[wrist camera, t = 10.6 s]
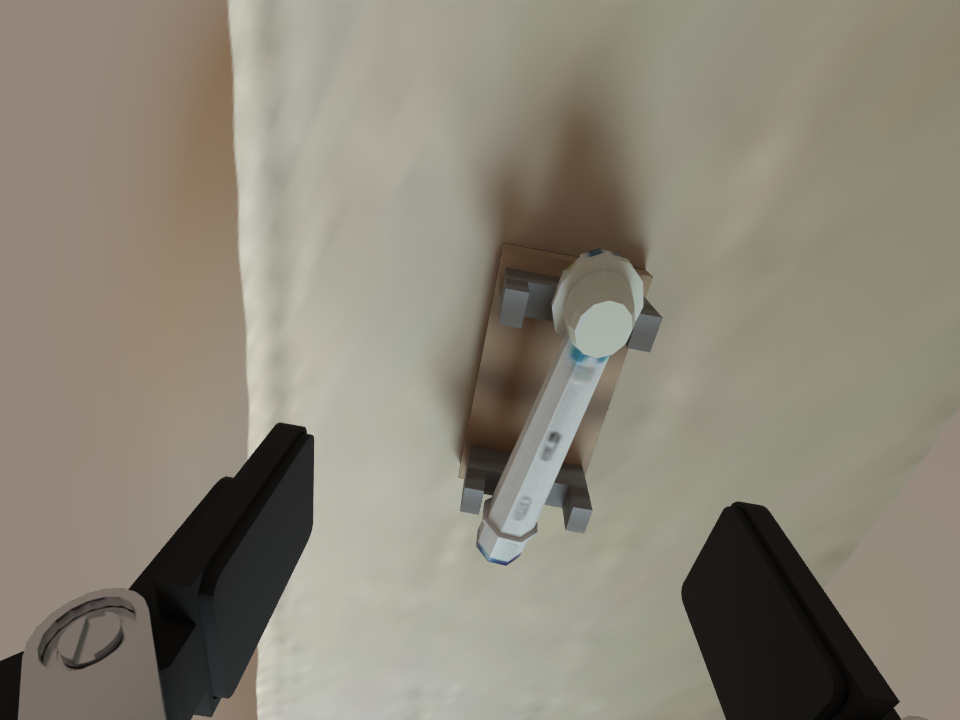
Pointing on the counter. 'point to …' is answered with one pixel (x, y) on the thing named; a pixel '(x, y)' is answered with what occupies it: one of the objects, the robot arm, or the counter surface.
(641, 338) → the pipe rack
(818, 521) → the counter surface
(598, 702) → the counter surface
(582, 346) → the white elongated piece
